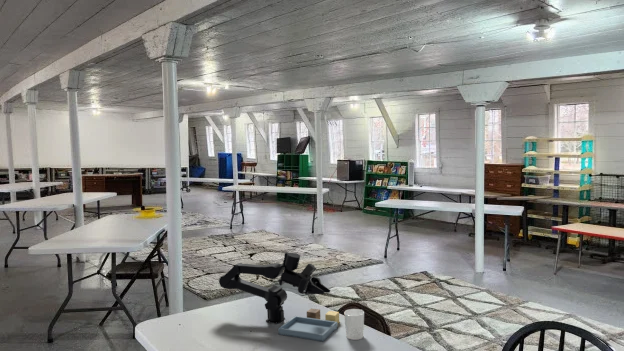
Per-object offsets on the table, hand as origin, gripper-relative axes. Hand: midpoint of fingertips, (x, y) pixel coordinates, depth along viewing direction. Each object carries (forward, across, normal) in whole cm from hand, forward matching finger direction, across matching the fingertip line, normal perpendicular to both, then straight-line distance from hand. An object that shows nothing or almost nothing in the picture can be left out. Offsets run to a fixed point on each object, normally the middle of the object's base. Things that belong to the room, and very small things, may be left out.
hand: (327, 292), depth 197 cm
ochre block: (+5, +8, +13) cm, 16 cm away
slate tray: (-2, -2, +17) cm, 18 cm away
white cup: (+18, -4, +12) cm, 21 cm away
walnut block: (-4, +9, +15) cm, 18 cm away
